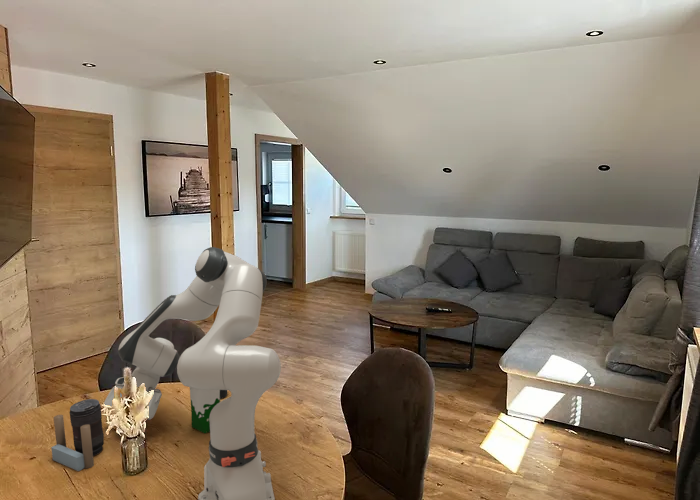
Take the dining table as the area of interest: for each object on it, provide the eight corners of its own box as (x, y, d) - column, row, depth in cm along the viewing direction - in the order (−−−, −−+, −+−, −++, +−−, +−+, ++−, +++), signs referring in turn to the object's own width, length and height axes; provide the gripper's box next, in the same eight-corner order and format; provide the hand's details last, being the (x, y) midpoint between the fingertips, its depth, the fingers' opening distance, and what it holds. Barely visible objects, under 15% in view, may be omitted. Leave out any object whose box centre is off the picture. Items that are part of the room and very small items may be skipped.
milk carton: (209, 417, 168) (206, 360, 165) (227, 424, 163) (224, 367, 160) (187, 427, 161) (183, 369, 158) (204, 436, 156) (201, 376, 153)
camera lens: (68, 455, 146) (62, 407, 144) (94, 442, 153) (88, 396, 151) (85, 462, 142) (80, 413, 140) (111, 448, 149) (106, 401, 147)
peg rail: (63, 451, 148) (59, 414, 146) (95, 464, 141) (91, 425, 139) (49, 458, 144) (45, 420, 142) (81, 472, 137) (77, 432, 135)
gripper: (170, 394, 159) (148, 437, 151) (126, 385, 168) (104, 426, 161) (157, 386, 154) (134, 430, 147) (113, 378, 164) (90, 419, 156)
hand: (118, 427), depth 154 cm, fingers closed
